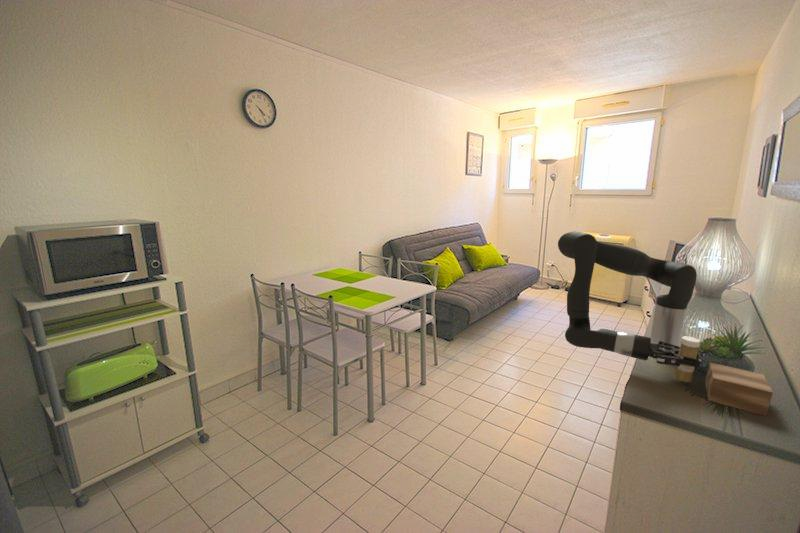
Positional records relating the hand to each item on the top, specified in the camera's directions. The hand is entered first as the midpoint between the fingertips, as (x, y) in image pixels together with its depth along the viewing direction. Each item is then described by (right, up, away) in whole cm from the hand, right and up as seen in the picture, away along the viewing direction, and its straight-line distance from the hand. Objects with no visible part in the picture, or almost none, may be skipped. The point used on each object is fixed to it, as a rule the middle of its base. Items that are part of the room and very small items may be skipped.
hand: (698, 360), depth 109 cm
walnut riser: (+7, -10, -4) cm, 13 cm away
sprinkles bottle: (-2, -7, +3) cm, 8 cm away
